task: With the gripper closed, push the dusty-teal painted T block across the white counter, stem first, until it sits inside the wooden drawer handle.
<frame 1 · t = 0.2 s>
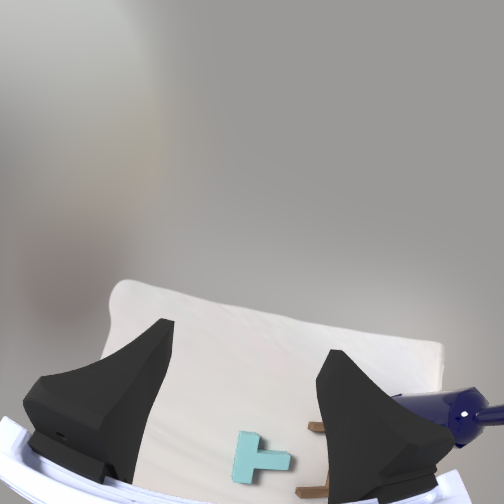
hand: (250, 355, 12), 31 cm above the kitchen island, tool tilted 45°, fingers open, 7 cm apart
wooden drawer handle: (319, 459, 35), on the kitchen island
t block: (251, 455, 34), on the kitchen island
bottle: (394, 417, 39), on the kitchen island
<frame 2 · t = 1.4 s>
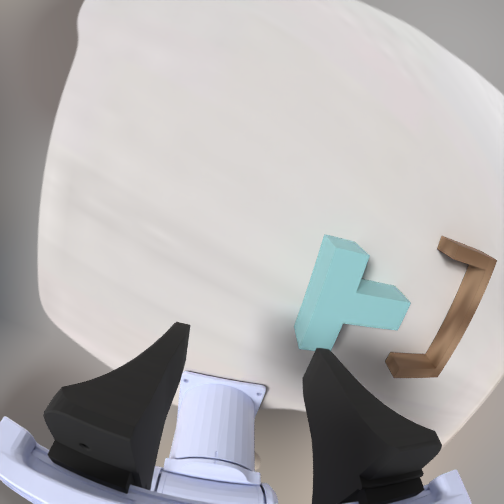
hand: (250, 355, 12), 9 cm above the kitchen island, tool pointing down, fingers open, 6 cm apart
wooden drawer handle: (436, 308, 22), on the kitchen island
t block: (338, 289, 21), on the kitchen island
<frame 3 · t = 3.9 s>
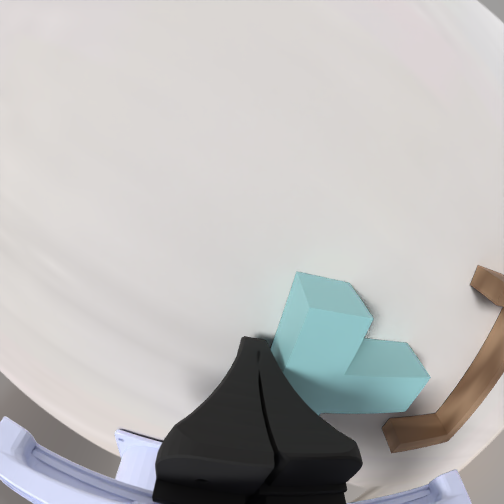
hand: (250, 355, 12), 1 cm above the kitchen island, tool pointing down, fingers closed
wooden drawer handle: (457, 362, 14), on the kitchen island
t block: (319, 352, 13), on the kitchen island, touching gripper
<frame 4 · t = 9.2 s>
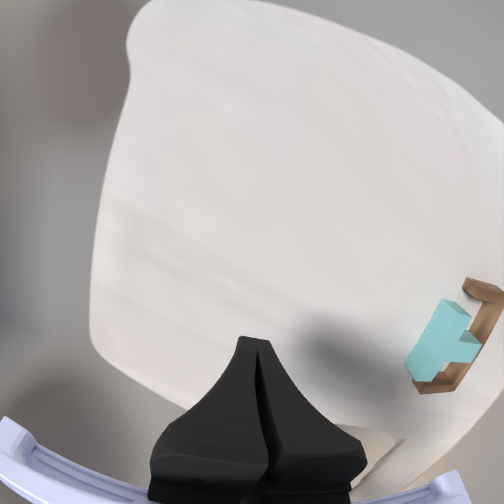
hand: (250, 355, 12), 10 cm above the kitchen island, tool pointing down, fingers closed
wooden drawer handle: (456, 334, 24), on the kitchen island
t block: (438, 335, 24), on the kitchen island
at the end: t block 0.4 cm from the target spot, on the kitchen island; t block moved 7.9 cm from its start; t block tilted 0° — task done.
